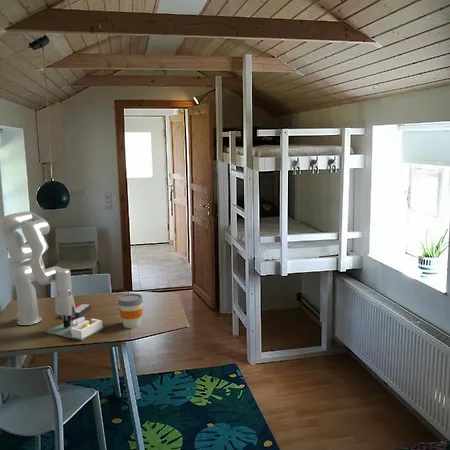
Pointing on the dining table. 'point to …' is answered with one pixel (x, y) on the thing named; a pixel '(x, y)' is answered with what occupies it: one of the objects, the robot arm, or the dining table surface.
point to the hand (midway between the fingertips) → (67, 326)
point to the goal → (87, 329)
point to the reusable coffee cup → (130, 309)
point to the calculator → (80, 310)
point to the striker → (79, 323)
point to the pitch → (67, 331)
